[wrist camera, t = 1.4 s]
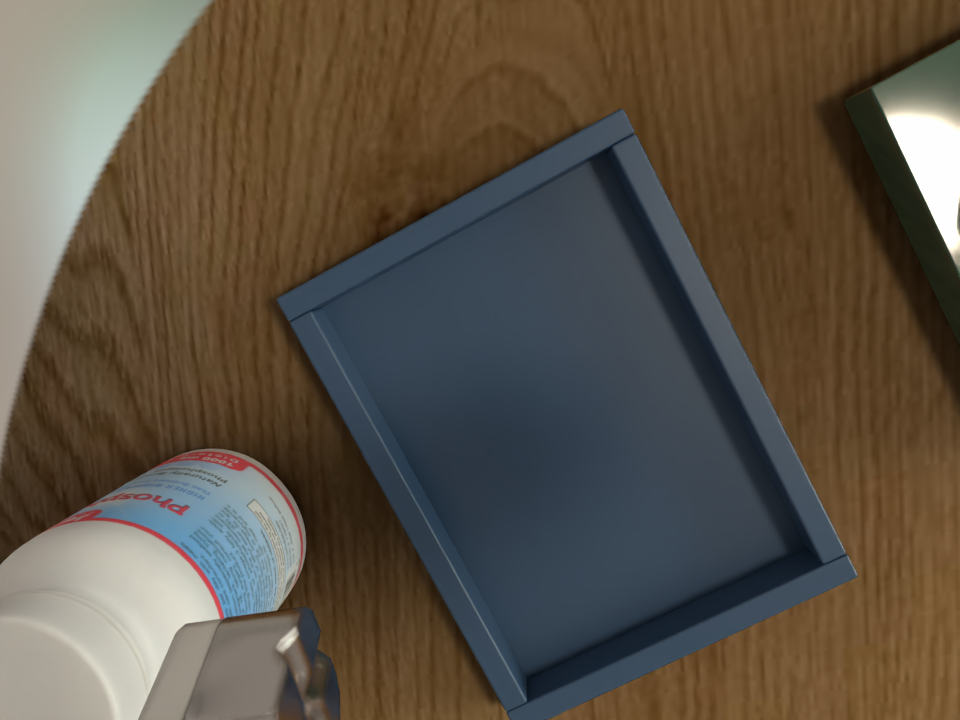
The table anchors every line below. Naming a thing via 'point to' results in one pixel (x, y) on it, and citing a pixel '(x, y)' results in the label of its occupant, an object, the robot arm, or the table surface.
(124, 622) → the pill bottle
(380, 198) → the table surface
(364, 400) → the dish
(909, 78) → the button base
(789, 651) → the table surface
